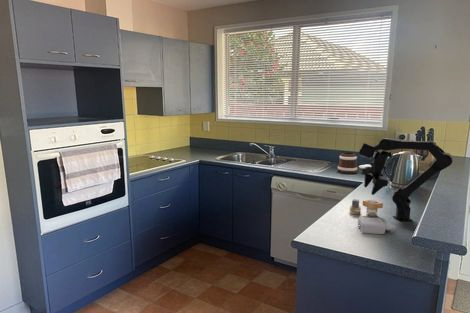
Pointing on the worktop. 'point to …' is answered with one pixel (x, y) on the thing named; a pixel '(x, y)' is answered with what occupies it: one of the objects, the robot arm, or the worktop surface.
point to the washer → (372, 204)
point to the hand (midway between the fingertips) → (368, 190)
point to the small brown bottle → (355, 207)
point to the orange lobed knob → (372, 210)
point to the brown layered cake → (347, 163)
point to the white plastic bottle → (373, 225)
